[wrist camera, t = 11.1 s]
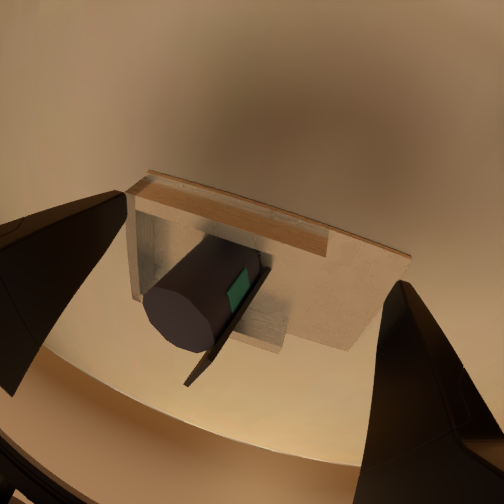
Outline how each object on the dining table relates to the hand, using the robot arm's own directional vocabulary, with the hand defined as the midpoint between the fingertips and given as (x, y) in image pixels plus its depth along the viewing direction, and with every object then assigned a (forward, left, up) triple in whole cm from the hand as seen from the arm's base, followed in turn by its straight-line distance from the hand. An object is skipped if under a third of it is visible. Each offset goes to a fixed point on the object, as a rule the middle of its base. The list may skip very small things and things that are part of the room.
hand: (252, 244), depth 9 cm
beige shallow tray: (0, +12, -13) cm, 17 cm away
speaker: (+3, +12, -12) cm, 17 cm away
